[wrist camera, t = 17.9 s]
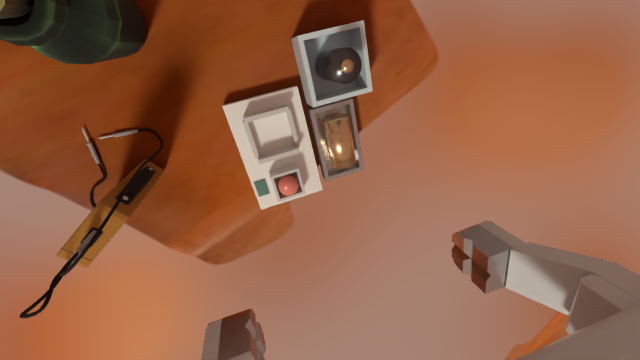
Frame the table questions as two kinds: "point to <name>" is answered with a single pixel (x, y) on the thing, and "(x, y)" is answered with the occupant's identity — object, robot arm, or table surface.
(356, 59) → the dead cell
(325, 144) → the trough
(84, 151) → the table surface
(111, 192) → the multimeter
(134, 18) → the potion bottle
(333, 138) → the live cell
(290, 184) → the button
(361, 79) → the grey square open box
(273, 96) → the battery tester
